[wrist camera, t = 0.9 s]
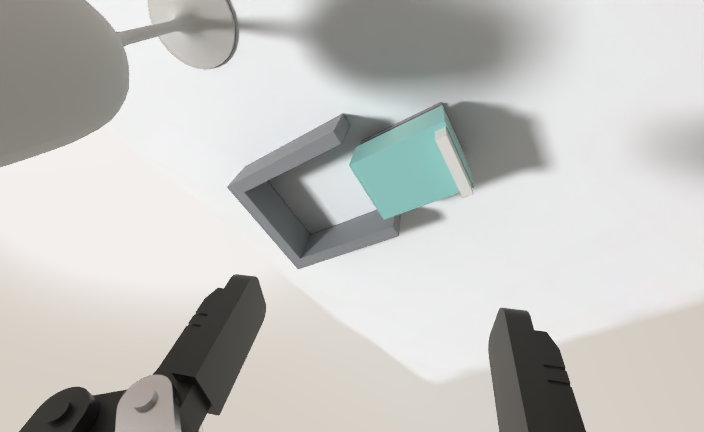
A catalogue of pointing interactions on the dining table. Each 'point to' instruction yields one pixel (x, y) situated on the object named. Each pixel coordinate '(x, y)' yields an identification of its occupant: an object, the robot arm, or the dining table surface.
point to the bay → (282, 221)
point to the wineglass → (87, 64)
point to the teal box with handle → (412, 163)
